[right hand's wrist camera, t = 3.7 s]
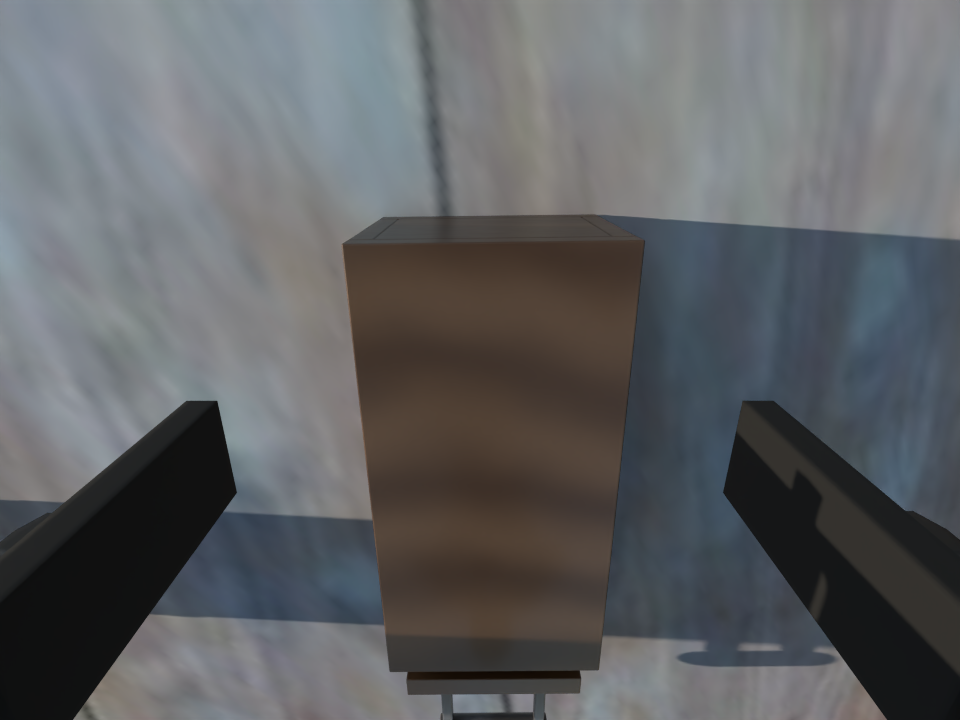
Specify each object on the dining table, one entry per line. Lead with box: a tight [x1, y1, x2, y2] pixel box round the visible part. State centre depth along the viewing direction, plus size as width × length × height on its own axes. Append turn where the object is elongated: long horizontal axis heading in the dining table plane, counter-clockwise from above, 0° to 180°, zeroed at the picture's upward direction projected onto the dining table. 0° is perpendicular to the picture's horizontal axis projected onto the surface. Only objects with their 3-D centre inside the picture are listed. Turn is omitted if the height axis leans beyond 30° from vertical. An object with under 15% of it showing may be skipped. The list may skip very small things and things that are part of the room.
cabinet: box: [342, 215, 645, 672], centre depth 26 cm, size 22×11×8 cm, turn 1°
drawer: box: [407, 670, 581, 720], centre depth 28 cm, size 26×10×6 cm, turn 1°
